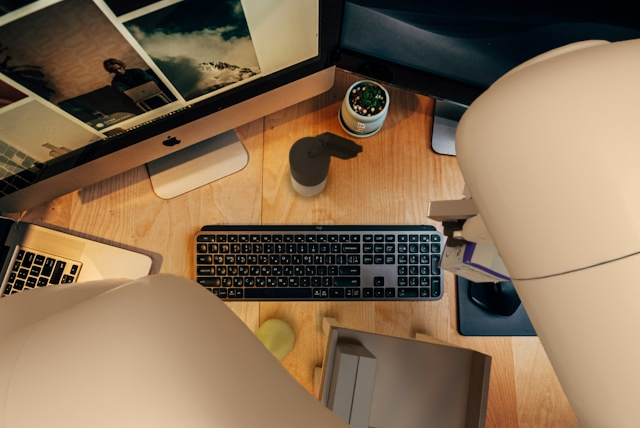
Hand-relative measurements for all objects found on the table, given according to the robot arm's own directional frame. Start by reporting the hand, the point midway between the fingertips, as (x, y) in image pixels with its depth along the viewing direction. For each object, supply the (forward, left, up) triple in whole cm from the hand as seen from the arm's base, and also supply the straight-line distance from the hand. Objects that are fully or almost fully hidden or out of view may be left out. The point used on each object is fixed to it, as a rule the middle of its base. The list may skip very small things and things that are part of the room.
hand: (483, 235), depth 41 cm
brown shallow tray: (-2, -17, -17) cm, 24 cm away
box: (0, 0, -4) cm, 4 cm away
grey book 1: (-10, -17, -16) cm, 26 cm away
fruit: (-19, -17, -39) cm, 47 cm away
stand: (-2, -17, -39) cm, 43 cm away
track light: (-16, +13, -39) cm, 44 cm away
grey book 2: (-8, -17, -16) cm, 25 cm away
